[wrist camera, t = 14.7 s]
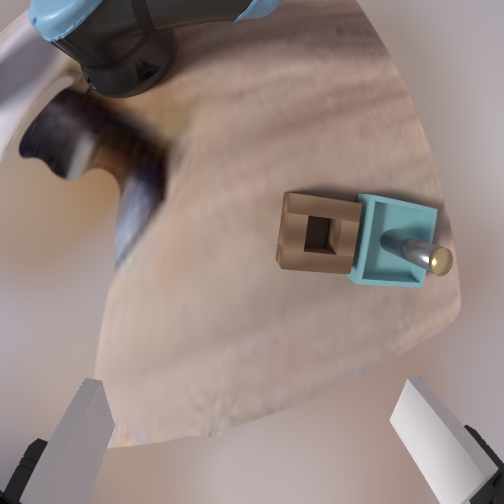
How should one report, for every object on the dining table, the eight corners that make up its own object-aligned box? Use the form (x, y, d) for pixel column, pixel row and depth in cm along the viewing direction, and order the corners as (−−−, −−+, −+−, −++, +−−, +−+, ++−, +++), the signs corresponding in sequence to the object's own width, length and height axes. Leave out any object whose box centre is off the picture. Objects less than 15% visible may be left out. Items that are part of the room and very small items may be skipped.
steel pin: (382, 228, 43) (436, 246, 29) (399, 231, 43) (455, 249, 30) (378, 250, 44) (430, 275, 30) (395, 252, 44) (449, 276, 30)
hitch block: (284, 192, 42) (291, 193, 37) (348, 201, 43) (361, 203, 38) (275, 259, 44) (281, 269, 39) (338, 265, 45) (350, 274, 40)
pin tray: (357, 193, 42) (371, 194, 38) (421, 206, 44) (437, 209, 39) (344, 275, 45) (356, 284, 41) (408, 279, 46) (422, 287, 42)
